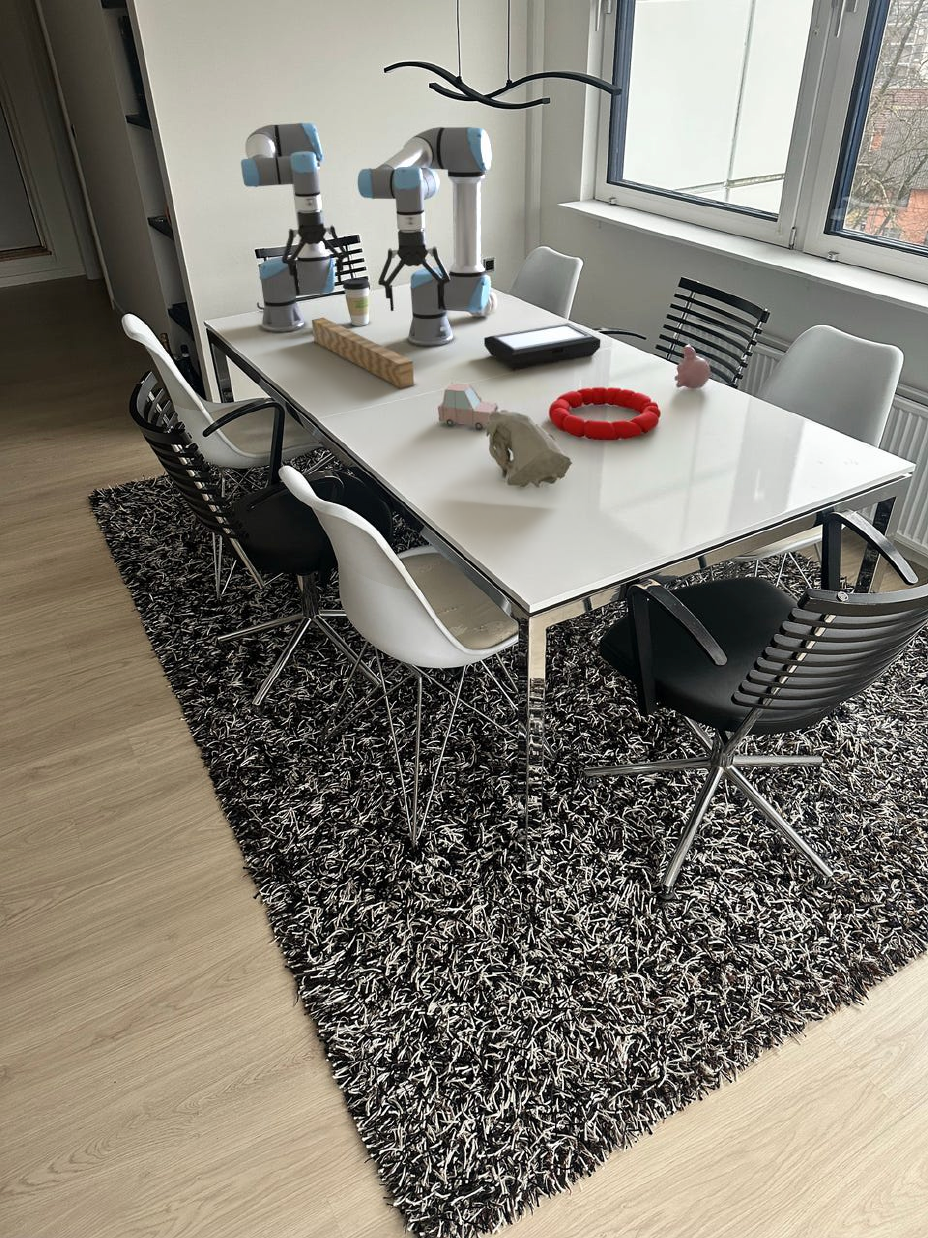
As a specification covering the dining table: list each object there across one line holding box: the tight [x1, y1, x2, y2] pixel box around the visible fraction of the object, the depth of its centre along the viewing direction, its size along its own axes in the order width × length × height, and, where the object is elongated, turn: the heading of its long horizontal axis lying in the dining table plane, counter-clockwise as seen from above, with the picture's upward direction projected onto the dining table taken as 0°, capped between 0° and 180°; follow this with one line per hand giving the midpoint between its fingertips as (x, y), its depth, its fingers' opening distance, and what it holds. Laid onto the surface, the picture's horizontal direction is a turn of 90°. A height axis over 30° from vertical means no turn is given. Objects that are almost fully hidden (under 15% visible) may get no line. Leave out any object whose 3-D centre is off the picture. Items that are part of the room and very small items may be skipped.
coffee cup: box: [342, 277, 371, 327], centre depth 323 cm, size 10×10×15 cm
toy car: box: [437, 382, 499, 431], centre depth 243 cm, size 9×15×10 cm, turn 70°
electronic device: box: [483, 322, 601, 371], centre depth 289 cm, size 32×6×20 cm
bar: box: [311, 317, 415, 389], centre depth 290 cm, size 59×4×7 cm, turn 34°
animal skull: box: [485, 409, 573, 489], centre depth 216 cm, size 17×25×20 cm
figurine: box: [674, 344, 711, 390], centre depth 259 cm, size 9×11×12 cm
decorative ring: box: [548, 386, 661, 442], centre depth 242 cm, size 7×30×30 cm
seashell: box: [468, 289, 498, 318], centre depth 327 cm, size 10×15×10 cm
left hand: (318, 284), depth 278 cm, fingers open, 13 cm apart
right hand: (415, 308), depth 256 cm, fingers open, 13 cm apart
